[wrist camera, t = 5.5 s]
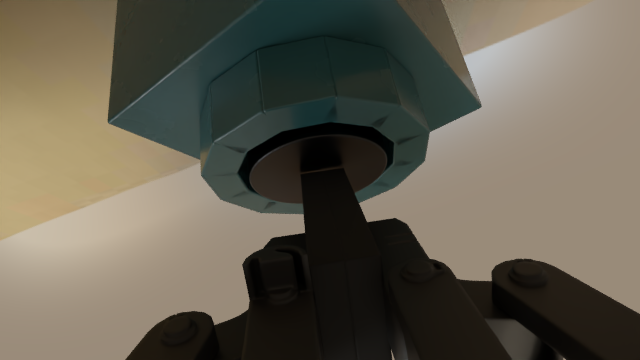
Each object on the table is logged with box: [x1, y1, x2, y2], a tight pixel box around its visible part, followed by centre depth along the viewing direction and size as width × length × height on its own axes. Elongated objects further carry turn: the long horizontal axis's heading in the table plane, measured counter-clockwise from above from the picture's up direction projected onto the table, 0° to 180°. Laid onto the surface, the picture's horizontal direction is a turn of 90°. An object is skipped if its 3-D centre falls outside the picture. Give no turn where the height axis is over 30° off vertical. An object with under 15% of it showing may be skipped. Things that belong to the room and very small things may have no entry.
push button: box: [247, 122, 387, 204], centre depth 16 cm, size 5×5×3 cm
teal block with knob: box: [108, 0, 481, 214], centre depth 18 cm, size 10×10×11 cm
